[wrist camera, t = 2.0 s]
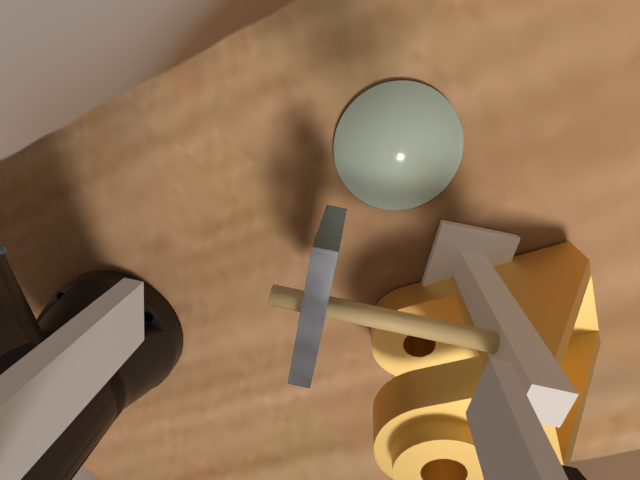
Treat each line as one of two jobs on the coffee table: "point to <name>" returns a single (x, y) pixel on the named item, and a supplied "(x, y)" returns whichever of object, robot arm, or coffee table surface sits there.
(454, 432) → the clamp
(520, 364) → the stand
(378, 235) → the coffee table surface
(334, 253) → the link
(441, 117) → the coaster
